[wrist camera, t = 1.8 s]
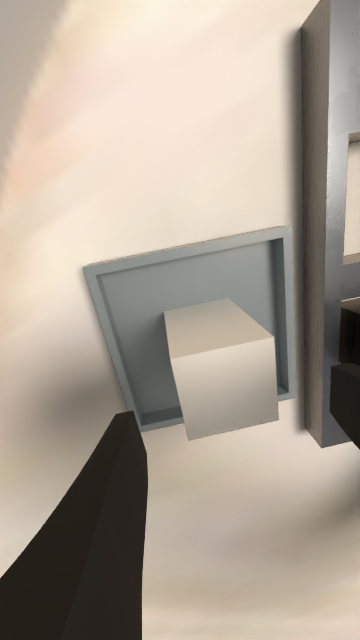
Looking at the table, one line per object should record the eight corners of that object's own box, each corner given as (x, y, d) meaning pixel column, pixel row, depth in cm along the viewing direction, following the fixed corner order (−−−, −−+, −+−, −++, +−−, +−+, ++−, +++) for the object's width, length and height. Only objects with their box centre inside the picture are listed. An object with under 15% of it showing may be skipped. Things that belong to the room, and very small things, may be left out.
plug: (235, 355, 16) (278, 419, 11) (176, 368, 16) (188, 440, 10) (228, 298, 15) (274, 336, 9) (163, 311, 15) (170, 359, 9)
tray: (285, 384, 18) (296, 397, 17) (136, 417, 18) (135, 433, 16) (278, 226, 14) (292, 225, 13) (89, 263, 14) (82, 267, 12)
